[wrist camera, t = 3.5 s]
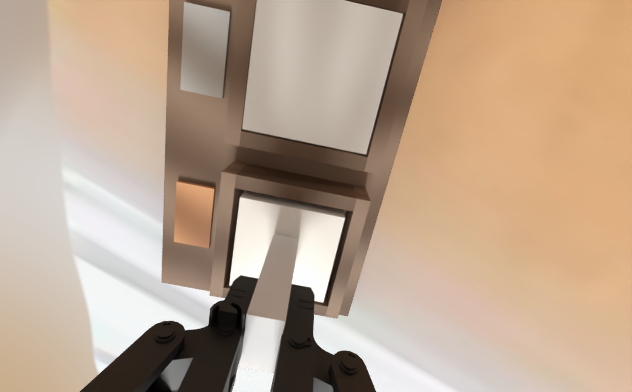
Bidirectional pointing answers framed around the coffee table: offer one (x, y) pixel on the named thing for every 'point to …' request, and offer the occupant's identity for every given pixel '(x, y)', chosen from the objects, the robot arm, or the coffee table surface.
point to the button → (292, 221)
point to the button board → (267, 147)
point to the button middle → (319, 70)
